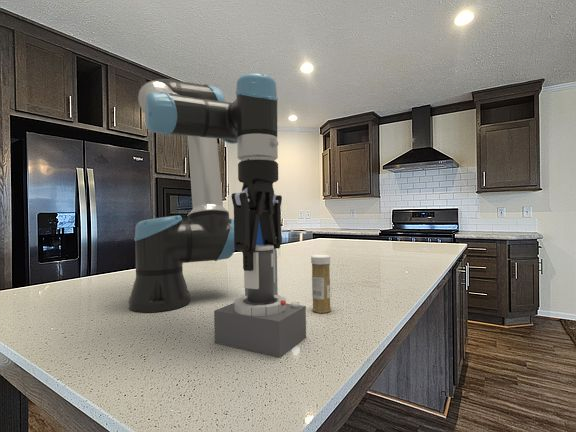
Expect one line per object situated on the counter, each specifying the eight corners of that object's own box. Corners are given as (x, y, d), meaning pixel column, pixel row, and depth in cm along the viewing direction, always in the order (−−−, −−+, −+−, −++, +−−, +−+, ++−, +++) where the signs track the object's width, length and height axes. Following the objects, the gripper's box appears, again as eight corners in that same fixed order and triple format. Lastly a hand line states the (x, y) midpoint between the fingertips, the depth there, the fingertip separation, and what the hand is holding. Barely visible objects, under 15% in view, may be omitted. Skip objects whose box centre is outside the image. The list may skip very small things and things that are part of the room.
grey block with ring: (214, 342, 63) (213, 299, 63) (246, 326, 71) (245, 288, 71) (279, 357, 56) (279, 308, 56) (306, 337, 65) (305, 295, 65)
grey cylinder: (241, 300, 62) (240, 247, 62) (257, 294, 67) (256, 244, 67) (265, 304, 60) (264, 248, 60) (280, 297, 64) (279, 245, 64)
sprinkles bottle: (334, 311, 81) (334, 255, 81) (320, 314, 79) (319, 257, 78) (322, 307, 85) (321, 253, 85) (308, 310, 82) (307, 255, 82)
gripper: (246, 151, 54) (248, 298, 54) (297, 165, 69) (299, 278, 70) (209, 156, 57) (212, 293, 57) (266, 167, 73) (268, 275, 73)
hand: (260, 284), depth 63 cm, fingers closed on grey cylinder, 5 cm apart
